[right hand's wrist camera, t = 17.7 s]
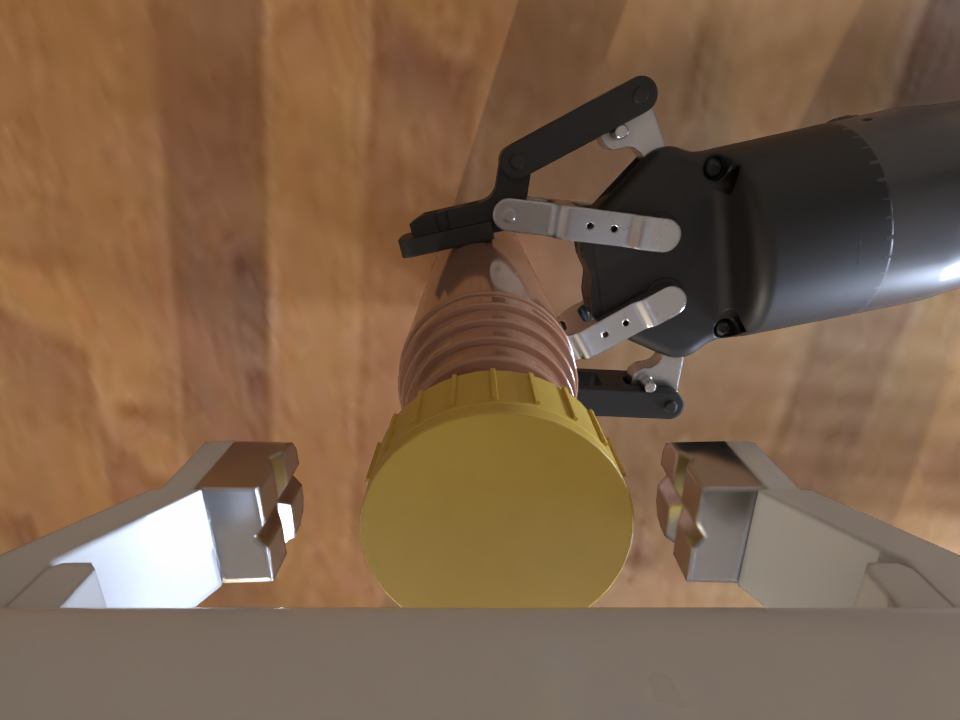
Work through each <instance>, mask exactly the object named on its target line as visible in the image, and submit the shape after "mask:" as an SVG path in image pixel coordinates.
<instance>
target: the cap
mask: <svg viewBox="0 0 960 720" xmlns="http://www.w3.org/2000/svg"><path fill="white" fill-rule="evenodd" d="M625 476H626V473H625V471H624V469H623V467H622V465H621V463H620V460H619V458H618V456H617V454H616V452H615V450H614V448H613V446H612V444H611V442H610V439H609V437H607V438H605V436H604V433H603V431H602V429H601V427H600V425H599V423H598V420H597V418H596V416H595V414H594V412H593V411H592V409H590V410H587V409H586V408H585V407H584V406H583V405H582V404H581V402H579V401H578V400H577V399H576V398H574V397H573V396H572V395H571V394H569V392H568V389H567V388H566V387H564V386H563V387H562V389H561V388H560V387H558V386H557V385H555V384H552V383H550V382H548V381H546V380H543V379H541V378H538V377H534V374H533V373H530V372H528V374H523V373H517V372H511V371H495V368H490V371H481V372H473V373H468V374H463V375H459V376H457V374H453V375H452V378H450V379H447V380H444V381H442V382H440V383H438V384H436V385H434V386H432V387H430V388H428V389H427V390H425V391H423V390H422V389H421V390H420V391H418V394H417V396H416V397H415V398H414V399H413V400H412V401H411V402H409V403H408V404H407V405H406V406H405V407H404V408H403V409H402V410H401V412H400V413H399V414H398V415H397V414H396V413H395V414H394V415H393V416H392V419H391V423H390V426H389V428H388V430H387V432H386V434H385V436H384V438H383V441H382V443H380V442H378V444H377V447H376V450H375V453H374V456H373V459H372V462H371V465H370V468H369V471H368V474H367V477H366V480H365V482H367V483H369V484H368V487H367V490H366V493H365V496H364V500H363V503H362V507H361V511H360V539H361V544H362V549H363V553H364V556H365V558H366V561H367V564H368V567H369V568H370V570H371V572H372V574H373V576H374V578H375V579H376V581H377V582H378V583H379V585H380V586H381V587H382V589H383V590H384V591H385V592H386V593H387V595H388V596H389V597H390V598H391V599H392V600H393V601H394V602H395V603H397V604H398V605H399V606H400V607H402V608H589V607H590V606H591V605H592V604H593V603H595V602H596V601H597V600H598V599H599V598H600V597H601V596H602V595H603V594H604V593H605V592H606V591H607V590H608V589H609V588H610V587H611V585H612V584H613V582H614V581H615V580H616V578H617V577H618V575H619V574H620V572H621V570H622V568H623V566H624V564H625V562H626V560H627V557H628V554H629V551H630V548H631V544H632V538H633V533H634V512H633V505H632V500H631V497H630V493H629V490H628V487H627V485H626V482H625V480H624V478H623V477H625Z"/></svg>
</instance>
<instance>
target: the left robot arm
mask: <svg viewBox="0 0 960 720" xmlns="http://www.w3.org/2000/svg"><path fill="white" fill-rule="evenodd" d="M657 94H658V93H657V87H656V84H655V83H654V81H653V80H652V79H651V78H649V77H646V76H638V77H635V78H633V79H631V80H629V81H627V82H625V83H623V84H621V85H618V86H617V87H615V88H613V89H611V90H609V91H607V92H605V93H604V94H602V95H600V96H598V97H596V98H594V99H593V100H591V101H589V102H587V103H585V104H583V105H582V106H580V107H578V108H576V109H574V110H572V111H571V112H569V113H567V114H565V115H563V116H561V117H560V118H558V119H556V120H554V121H552V122H550V123H549V124H547V125H545V126H543V127H541V128H539V129H538V130H536V131H534V132H532V133H530V134H528V135H527V136H525V137H523V138H521V139H519V140H517V141H516V142H514V143H512V144H510V145H508V146H506V147H505V148H504V149H503V150H502V151H501V153H500V155H499V159H498V169H497V176H496V183H495V187H494V189H493V191H492V193H491V194H490V195H489V196H488V197H486V198H485V199H482V200H479V201H474V202H470V203H465V204H461V205H456V206H452V207H448V208H443V209H439V210H434V211H429V212H425V213H423V214H422V215H420V216H419V217H417V218H416V219H415V220H413V221H412V222H411V223H410V228H411V233H408V234H405V235H403V236H402V237H401V238H400V239H399V240H398V241H399V245H400V249H401V253H402V257H403V258H409V257H415V256H419V255H424V254H428V253H433V252H438V251H442V250H447V249H451V248H456V247H461V246H465V245H468V244H473V243H479V242H484V241H488V240H493V239H495V238H494V233H496V232H500V231H510V232H518V233H527V234H535V235H543V236H550V237H554V238H558V239H563V240H570V241H574V242H575V249H576V253H577V255H578V257H579V260H580V262H581V264H582V266H583V277H582V286H581V289H582V295H583V301H581V302H579V303H577V304H575V305H574V306H572V307H570V308H568V309H567V310H565V311H564V312H563V313H562V314H561V315H560V316H559V317H558V319H559V321H560V323H561V325H562V327H563V329H564V331H565V333H566V335H567V337H568V339H569V341H570V343H571V346H572V349H573V353H574V356H575V361H576V360H579V359H589V358H592V357H594V356H596V355H598V354H600V353H602V352H603V351H605V350H607V349H609V348H611V347H613V346H615V345H616V344H618V343H620V342H622V341H624V340H626V339H628V340H630V341H633V342H635V343H637V344H639V345H642V346H644V347H646V348H649V349H651V350H653V351H655V353H654V355H653V356H652V357H651V358H649V359H647V360H644V361H637V362H634V363H633V364H631V365H630V367H629V368H628V370H627V371H621V370H599V369H577V373H578V394H577V400H578V401H579V402H581V404H582V405H583V406H584V407H585V408H586V409H587V410H590V409H592V411H593V412H594V414H595V416H614V417H637V418H660V419H672V418H675V417H677V416H678V415H680V414H681V413H682V411H683V409H684V400H683V399H682V397H681V396H680V395H679V394H678V391H677V390H678V384H679V379H680V374H681V369H682V364H683V359H684V357H685V356H688V355H690V354H692V353H694V352H695V351H696V350H698V349H699V348H700V347H702V346H703V345H705V344H707V343H709V342H711V341H713V340H715V339H719V338H726V337H736V336H744V335H750V334H755V333H760V332H765V331H770V330H775V329H780V328H785V327H790V326H795V325H800V324H805V323H810V322H815V321H821V320H826V319H831V318H836V317H841V316H846V315H851V314H856V313H861V312H866V311H871V310H876V309H881V308H886V307H891V306H896V305H901V304H906V303H911V302H915V301H919V300H923V299H926V298H929V297H933V296H936V295H939V294H941V293H944V292H947V291H950V290H953V289H956V288H959V287H960V101H954V102H949V103H943V104H933V105H920V106H908V107H899V108H893V109H888V110H883V111H878V112H874V113H870V114H865V115H860V116H859V115H852V116H851V115H847V116H843V117H839V118H836V119H833V120H830V121H828V122H827V123H825V124H820V125H815V126H811V127H806V128H802V129H797V130H793V131H789V132H784V133H780V134H775V135H771V136H766V137H762V138H757V139H753V140H748V141H744V142H739V143H735V144H730V145H726V146H721V147H717V148H713V149H708V150H704V151H698V152H689V151H685V150H683V149H680V148H677V147H672V146H666V144H665V142H664V139H663V136H662V133H661V131H660V128H659V125H658V122H657V120H656V117H655V114H654V111H653V108H652V107H653V106H654V104H655V102H656V99H657ZM595 139H596V140H597V142H598V144H599V145H600V146H601V147H602V148H604V149H607V150H618V149H622V148H625V147H626V148H629V149H631V150H632V151H633V152H634V153H635V155H636V158H635V159H634V160H633V161H632V162H631V164H630V165H629V166H628V167H627V168H626V169H625V170H624V171H623V172H622V173H621V174H620V175H619V176H618V177H617V178H616V180H615V181H614V182H613V183H612V184H611V185H610V186H609V187H608V188H607V189H606V190H605V191H604V192H603V193H602V194H601V196H600V197H599V198H598V199H597V200H596V201H595V202H594V203H585V202H577V201H569V200H560V199H547V198H538V197H530V196H527V193H528V186H529V180H530V174H531V173H533V172H534V171H536V170H538V169H540V168H542V167H544V166H546V165H548V164H550V163H551V162H553V161H555V160H557V159H559V158H561V157H563V156H565V155H566V154H568V153H570V152H572V151H574V150H576V149H578V148H580V147H581V146H583V145H585V144H587V143H589V142H591V141H593V140H595ZM589 312H590V314H589ZM603 332H605V333H603Z"/></svg>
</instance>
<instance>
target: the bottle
mask: <svg viewBox="0 0 960 720" xmlns="http://www.w3.org/2000/svg"><path fill="white" fill-rule="evenodd" d="M494 238H495V239H493V240H488V241H484V242H479V243H473V244H468V245H465V246H461V247H456V248H451V249H447V250H442V251H439V252H438V255H437V257H436V260H435V263H434V265H433V268H432V271H431V274H430V276H429V279H428V282H427V285H426V287H425V290H424V293H423V295H422V298H421V301H420V304H419V306H418V309H417V312H416V315H415V317H414V320H413V323H412V325H411V328H410V331H409V334H408V336H407V339H406V342H405V345H404V348H403V351H402V354H401V359H400V365H399V377H398V392H399V400H400V404H401V408H402V409H403V408H404V407H405V406H406V405H407V404H408V403H409V402H411V401H412V400H413V399H414V398H415V397H416V396H417V394H418V391H420V390H421V389H422V390H423V391H425V390H427V389H428V388H430V387H432V386H434V385H436V384H438V383H440V382H442V381H444V380H447V379H450V378H452V375H453V374H457V376H459V375H463V374H468V373H473V372H481V371H490V368H495V371H511V372H517V373H523V374H528V372H530V373H533V374H534V377H538V378H541V379H543V380H546V381H548V382H550V383H552V384H555V385H557V386H558V387H560V388H561V389H562V387H563V386H564V387H566V388H567V389H568V392H569V394H571V395H572V396H573V397H574V398H576V399H577V394H578V373H577V367H576V363H575V356H574V353H573V349H572V346H571V343H570V341H569V339H568V337H567V335H566V333H565V331H564V329H563V327H562V325H561V323H560V321H559V319H558V317H557V315H556V313H555V311H554V309H553V307H552V305H551V303H550V301H549V299H548V297H547V295H546V293H545V292H544V290H543V288H542V286H541V284H540V282H539V280H538V278H537V276H536V274H535V272H534V270H533V268H532V266H531V264H530V262H529V260H528V258H527V256H526V254H525V252H524V251H523V249H522V247H521V245H520V243H519V241H518V240H517V238H516V237H515V236H514V234H513V233H511V232H510V231H500V232H496V233H494Z"/></svg>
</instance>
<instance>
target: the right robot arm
mask: <svg viewBox="0 0 960 720" xmlns="http://www.w3.org/2000/svg"><path fill="white" fill-rule="evenodd" d="M298 465H299V460H298V455H297V449H296V447H295V445H294V444H293V443H292V442H246V441H239V442H237V441H212V442H206V443H205V444H204V445H203V446H202V447H201V448H200V449H199V450H198V451H197V452H196V453H195V454H194V455H193V456H192V457H191V458H190V459H189V460H188V461H187V462H186V463H185V465H184V466H183V467H182V468H181V469H180V470H179V471H178V472H177V473H176V474H175V475H174V476H173V477H172V478H171V479H170V480H169V481H168V482H167V483H166V484H165V485H164V486H163V487H162V488H161V489H151V490H149V491H147V492H144V493H142V494H140V495H137V496H135V497H133V498H131V499H128V500H126V501H124V502H121V503H119V504H117V505H115V506H112V507H110V508H108V509H105V510H103V511H101V512H98V513H96V514H94V515H92V516H89V517H87V518H85V519H82V520H80V521H78V522H75V523H73V524H71V525H69V526H66V527H64V528H62V529H59V530H57V531H55V532H53V533H50V534H48V535H46V536H43V537H41V538H39V539H36V540H34V541H32V542H30V543H27V544H25V545H23V546H20V547H18V548H16V549H13V550H11V551H9V552H7V553H4V554H2V555H0V720H960V555H958V554H955V553H953V552H951V551H948V550H946V549H944V548H942V547H939V546H937V545H935V544H932V543H930V542H928V541H926V540H923V539H921V538H919V537H916V536H914V535H912V534H909V533H907V532H905V531H903V530H900V529H898V528H896V527H893V526H891V525H889V524H887V523H884V522H882V521H880V520H877V519H875V518H873V517H871V516H868V515H866V514H864V513H861V512H859V511H857V510H855V509H852V508H850V507H848V506H845V505H843V504H841V503H839V502H836V501H834V500H832V499H829V498H827V497H825V496H822V495H820V494H818V493H816V492H813V491H811V490H809V489H799V488H798V487H797V486H796V485H795V484H794V483H793V482H792V481H791V480H790V479H789V478H788V477H787V476H786V475H785V474H784V473H783V472H782V471H781V470H780V469H779V468H778V467H777V465H776V464H775V463H774V462H773V461H772V460H771V459H770V458H769V457H768V456H767V455H766V454H765V453H764V452H763V451H762V450H761V449H760V448H759V447H758V446H757V445H756V444H755V443H754V442H751V441H729V442H725V441H718V442H676V443H667V444H666V445H665V447H664V450H663V453H662V460H661V465H662V467H663V469H664V470H665V472H666V474H667V476H666V477H665V478H664V479H663V480H662V481H661V482H660V483H659V484H658V490H657V499H656V503H657V516H658V520H659V523H660V527H661V529H662V531H663V533H664V536H665V537H667V538H668V539H670V540H671V541H673V542H674V543H675V545H674V552H673V554H674V556H675V558H676V560H677V562H678V564H679V566H680V568H681V570H682V572H683V574H684V577H685V579H686V581H689V582H726V583H738V586H740V587H741V588H742V589H743V590H745V591H746V592H747V593H748V594H750V595H751V596H752V597H753V598H755V599H756V600H757V601H758V602H760V603H761V604H762V605H763V606H765V607H766V608H194V607H196V606H197V605H198V604H199V603H201V602H202V601H203V600H204V599H206V598H207V597H208V596H209V595H211V594H212V593H213V592H214V591H216V590H217V589H218V588H219V587H221V586H222V583H234V582H270V581H274V579H275V577H276V575H277V573H278V571H279V568H280V566H281V564H282V562H283V560H284V558H285V556H286V554H287V552H286V545H285V543H286V542H287V541H289V540H290V539H292V538H293V537H295V536H296V533H297V531H298V529H299V527H300V524H301V519H302V514H303V489H302V484H301V483H300V482H299V481H298V480H297V479H296V478H295V477H294V476H293V474H294V472H295V470H296V469H297V467H298Z"/></svg>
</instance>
